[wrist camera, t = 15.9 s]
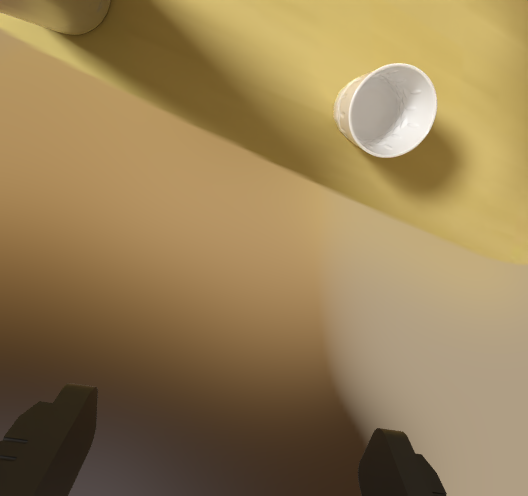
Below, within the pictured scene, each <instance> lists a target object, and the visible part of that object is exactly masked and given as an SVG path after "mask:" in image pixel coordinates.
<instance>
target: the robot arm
mask: <svg viewBox="0 0 528 496" xmlns="http://www.w3.org/2000/svg"><path fill="white" fill-rule="evenodd" d="M110 1H111V0H0V12H1V13H4V14H7V15H10V16H13V17H16V18H19V19H21V20H24V21H27V22H30V23H33V24H36V25H39V26H42V27H45V28H48V29H51V30H54V31H57V32H60V33H64V34H68V35H79V34H84V33H87V32H89V31H91V30H93V29H95V28H96V27H97V26H98V25H99V24H100V23H101V22H102V20H103V19H104V17H105V16H106V14H107V11H108V9H109V6H110ZM97 396H98V389H97V387H92V386H86V385H79V384H72V383H68V384H66V385H65V386H64V388H63V389H62V390H61V392H60V393H59V395H58V396H57V398H56V399H55V401H54V402H53V403H47V402H38V403H37V404H35V405H34V406H33V407H31V408H30V409H29V410H27V411H26V412H25V413H24V414H22V415H21V416H19V417H18V419H17V420H16V421H15V423H14V424H13V425H12V427H11V428H10V429H9V431H8V432H7V433H6V435H5V436H4V439H3V441H0V496H68V494H69V492H70V490H71V488H72V486H73V484H74V482H75V480H76V478H77V476H78V473H79V471H80V469H81V467H82V465H83V463H84V460H85V459H86V456H87V454H88V452H89V450H90V447H91V445H92V442H93V439H94V435H95V430H96V419H97V398H98V397H97ZM358 480H359V486H360V490H361V494H362V496H446V492H445V489H444V487H443V486H442V483H441V481H440V479H439V477H438V475H437V473H436V472H435V470H434V469H433V468H432V467H431V466H430V464H429V463H428V462H427V461H426V459H425V458H424V457H423V456H422V455H421V454H415V452H414V450H413V448H412V446H411V443H410V441H409V439H408V437H407V435H406V434H405V433H404V432H401V431H394V430H387V429H380V428H377V429H376V430H375V431H374V433H373V435H372V437H371V439H370V441H369V443H368V445H367V448H366V450H365V452H364V454H363V456H362V458H361V460H360V463H359V468H358Z"/></svg>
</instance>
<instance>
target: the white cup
mask: <svg viewBox="0 0 528 496" xmlns="http://www.w3.org/2000/svg"><path fill="white" fill-rule="evenodd" d="M436 112H437V96H436V91H435V88H434V86H433V84H432V82H431V80H430V79H429V77H428V76H427V75H426V74H425V73H424V72H423V71H422V70H420V69H419V68H417V67H415V66H412V65H409V64H404V63H395V64H389V65H385V66H383V67H380V68H378V69H375V70H373V71H370V72H368V73H365V74H363V75H361V76H359V77H357V78H356V79H354V80H352V81H350V82H349V83H348V84H347V85H346V86H345V87H344V88H342V89H341V90H340V91H339V94H338V96H337V98H336V101H335V103H334V120H335V123H336V125H337V127H338V129H339V131H340V132H342V133H343V134H344V135H345V136H346V137H347V138H348V139H349V140H350V141H351V142H352V143H354V144H355V145H357V146H358V147H360V148H361V149H363V150H364V151H365V152H367V153H369V154H371V155H373V156H376V157H381V158H392V157H397V156H400V155H403V154H405V153H407V152H409V151H411V150H412V149H414V148H415V147H416V146H418V145H419V144H420V143H421V142H422V141H423V140H424V138H425V137H426V136H427V134H428V133H429V131H430V129H431V128H432V125H433V123H434V120H435V117H436Z"/></svg>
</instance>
